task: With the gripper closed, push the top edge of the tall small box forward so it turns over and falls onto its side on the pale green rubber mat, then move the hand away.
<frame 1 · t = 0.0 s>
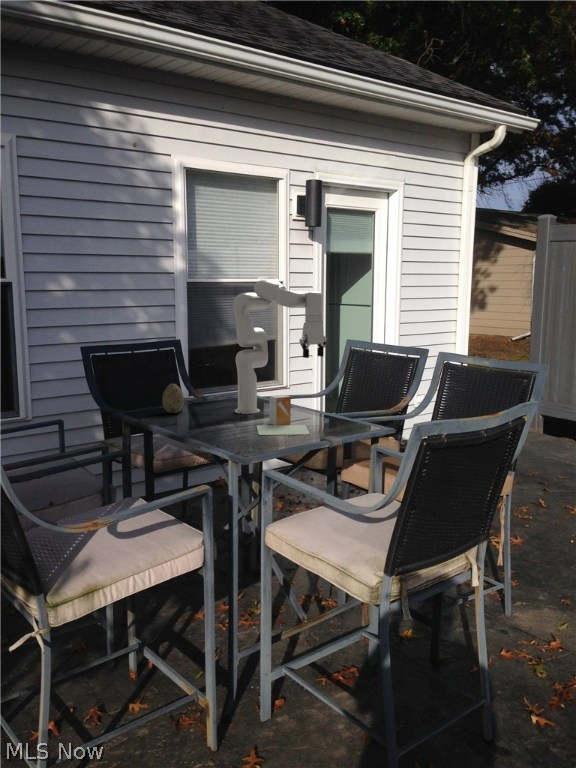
hand: (313, 357, 308), 31 cm above the table, tool pointing down, fingers open, 9 cm apart
mat: (282, 430, 299), on the table
decorative egg: (173, 413, 340), on the table
small box: (279, 424, 314), on the table
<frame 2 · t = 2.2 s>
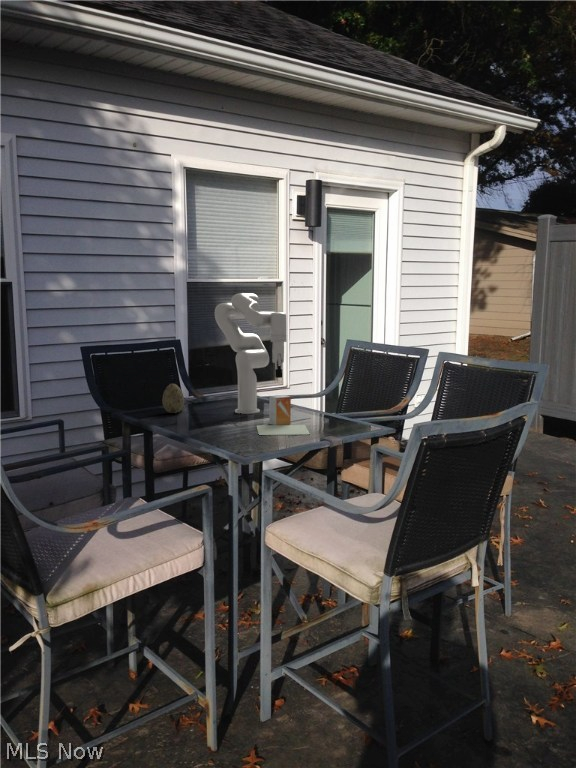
hand: (278, 377, 320), 20 cm above the table, tool pointing down, fingers closed
nothing on the table moved.
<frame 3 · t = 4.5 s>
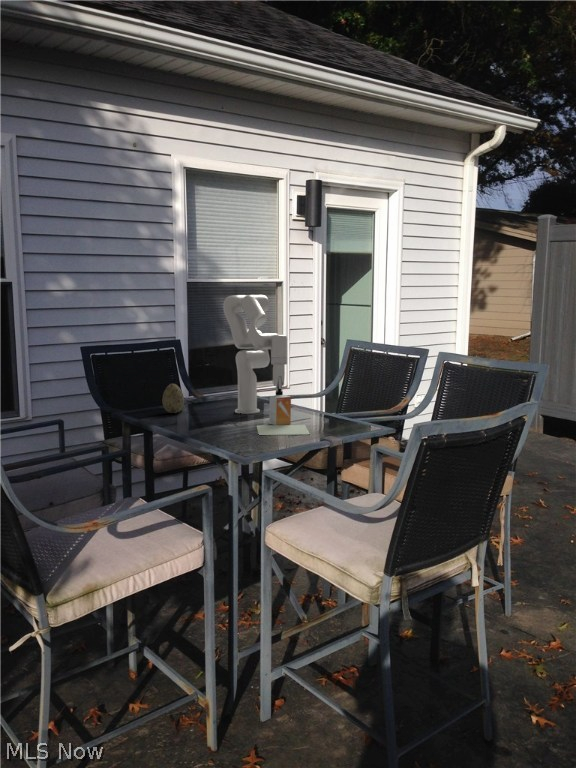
hand: (279, 399, 318), 10 cm above the table, tool pointing down, fingers closed
small box: (279, 424, 314), on the table, touching gripper
everything else where it was.
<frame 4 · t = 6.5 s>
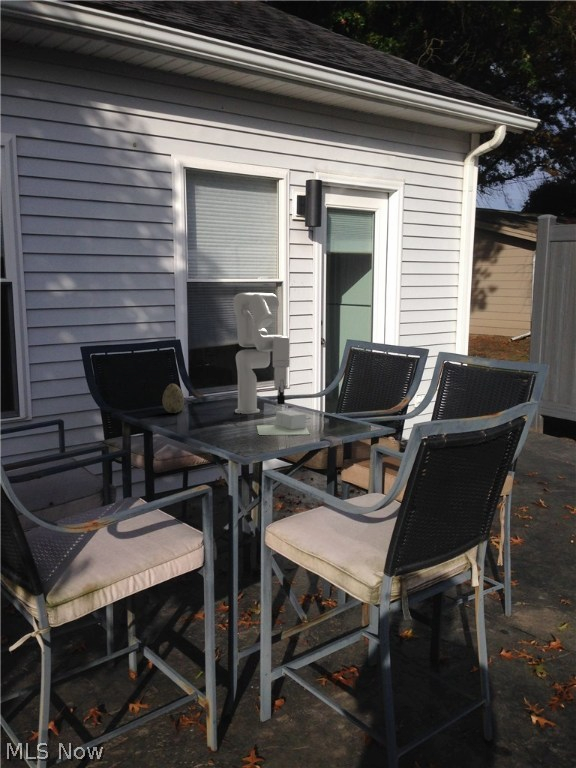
hand: (280, 403, 307), 10 cm above the table, tool pointing down, fingers closed
small box: (283, 417, 311), point 3 cm above the table, touching mat
everything else where it was.
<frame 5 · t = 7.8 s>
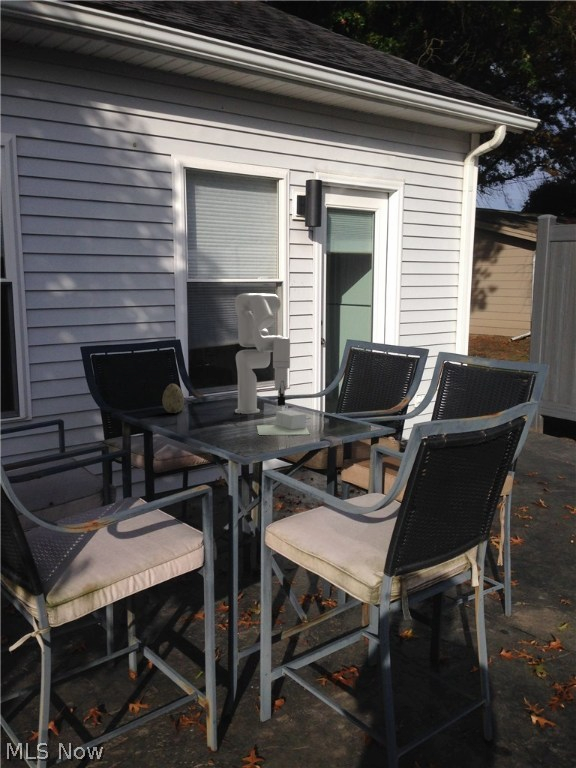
hand: (281, 405, 304), 10 cm above the table, tool pointing down, fingers closed
nothing on the table moved.
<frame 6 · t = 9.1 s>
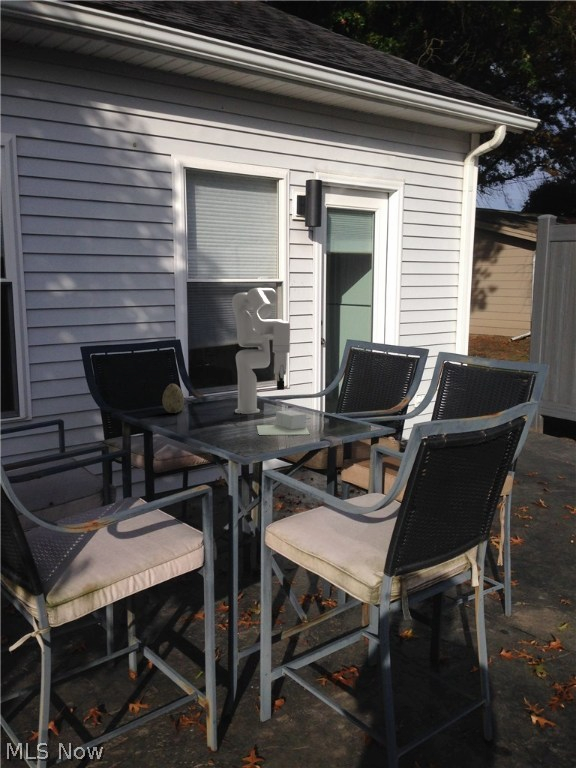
hand: (280, 389, 305), 17 cm above the table, tool pointing down, fingers closed
nothing on the table moved.
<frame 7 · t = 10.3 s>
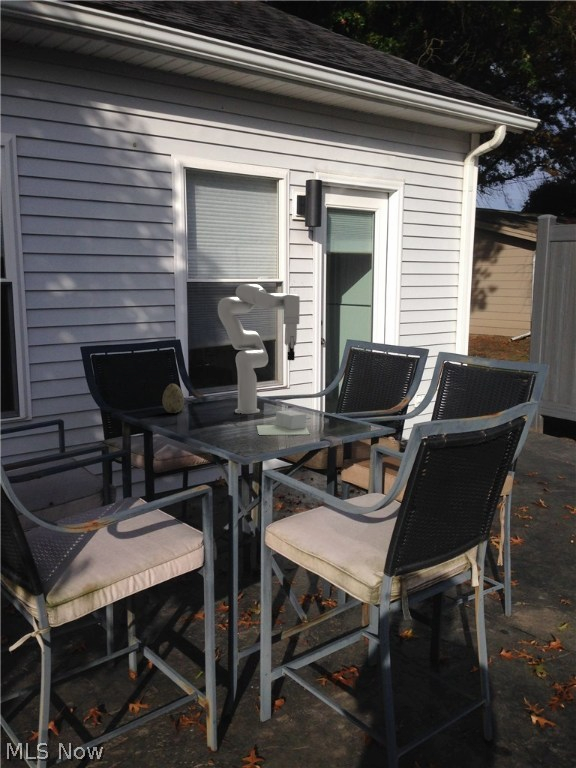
hand: (290, 360, 318), 29 cm above the table, tool pointing down, fingers closed
nothing on the table moved.
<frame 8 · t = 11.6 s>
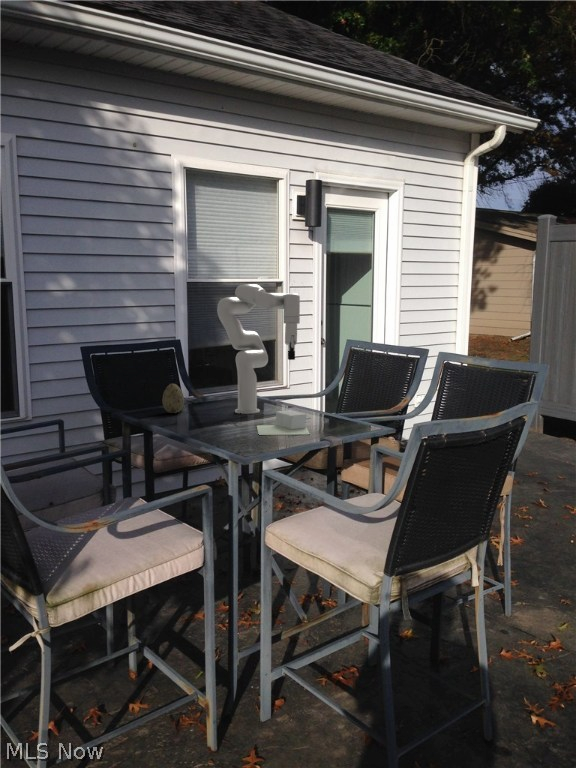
hand: (291, 359, 318), 29 cm above the table, tool pointing down, fingers closed
nothing on the table moved.
at the end: small box tilted 89°; small box inside the target area (13.3 cm from its centre), point 3.4 cm above the table; the gripper is holding nothing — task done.
